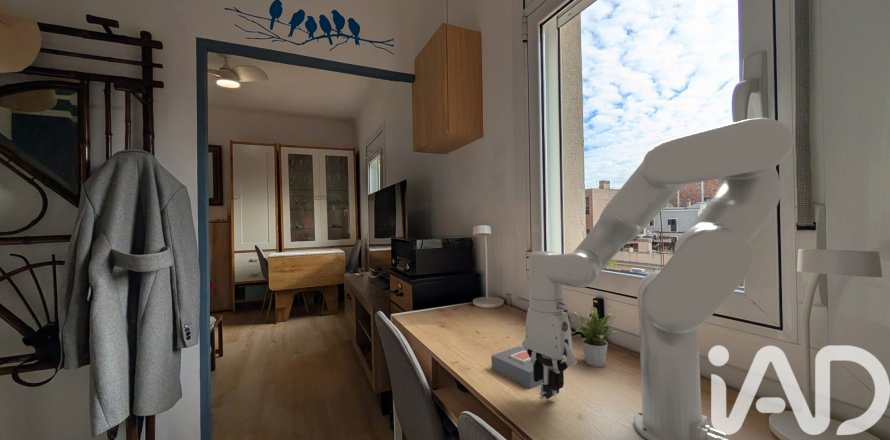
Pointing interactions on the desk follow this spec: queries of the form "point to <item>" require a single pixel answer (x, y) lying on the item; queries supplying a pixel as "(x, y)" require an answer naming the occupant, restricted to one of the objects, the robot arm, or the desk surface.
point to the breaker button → (521, 357)
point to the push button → (547, 377)
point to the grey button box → (514, 368)
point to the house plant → (594, 338)
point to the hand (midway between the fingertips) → (548, 383)
